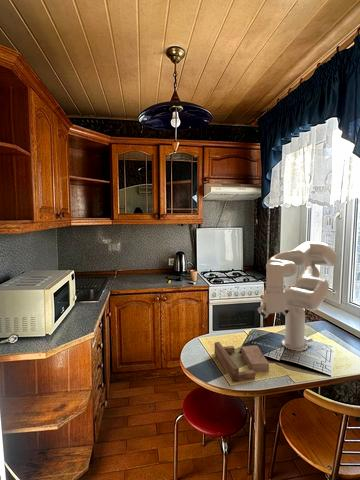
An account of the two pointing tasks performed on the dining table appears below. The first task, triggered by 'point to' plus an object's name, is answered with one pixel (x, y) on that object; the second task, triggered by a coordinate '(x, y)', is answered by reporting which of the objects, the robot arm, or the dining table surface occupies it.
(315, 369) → the dining table surface
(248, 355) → the brick
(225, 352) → the block
